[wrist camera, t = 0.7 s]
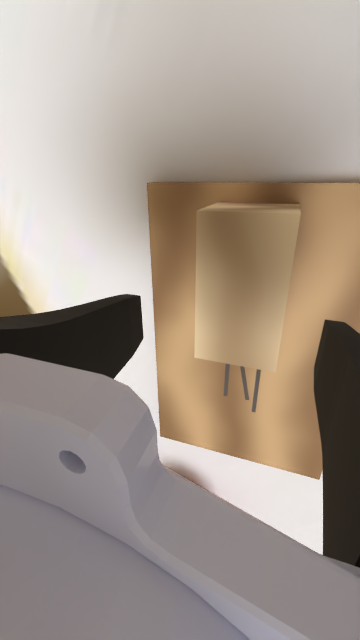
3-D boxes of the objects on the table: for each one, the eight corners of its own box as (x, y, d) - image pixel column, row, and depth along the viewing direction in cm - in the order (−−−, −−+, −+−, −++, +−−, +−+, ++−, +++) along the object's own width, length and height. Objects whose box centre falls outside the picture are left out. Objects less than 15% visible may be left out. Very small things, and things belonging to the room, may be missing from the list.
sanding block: (300, 203, 17) (300, 214, 13) (280, 330, 20) (275, 372, 16) (220, 201, 18) (196, 210, 14) (214, 321, 22) (194, 357, 17)
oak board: (399, 182, 16) (406, 183, 15) (318, 467, 26) (319, 480, 25) (154, 182, 20) (146, 183, 19) (165, 427, 30) (160, 436, 29)
